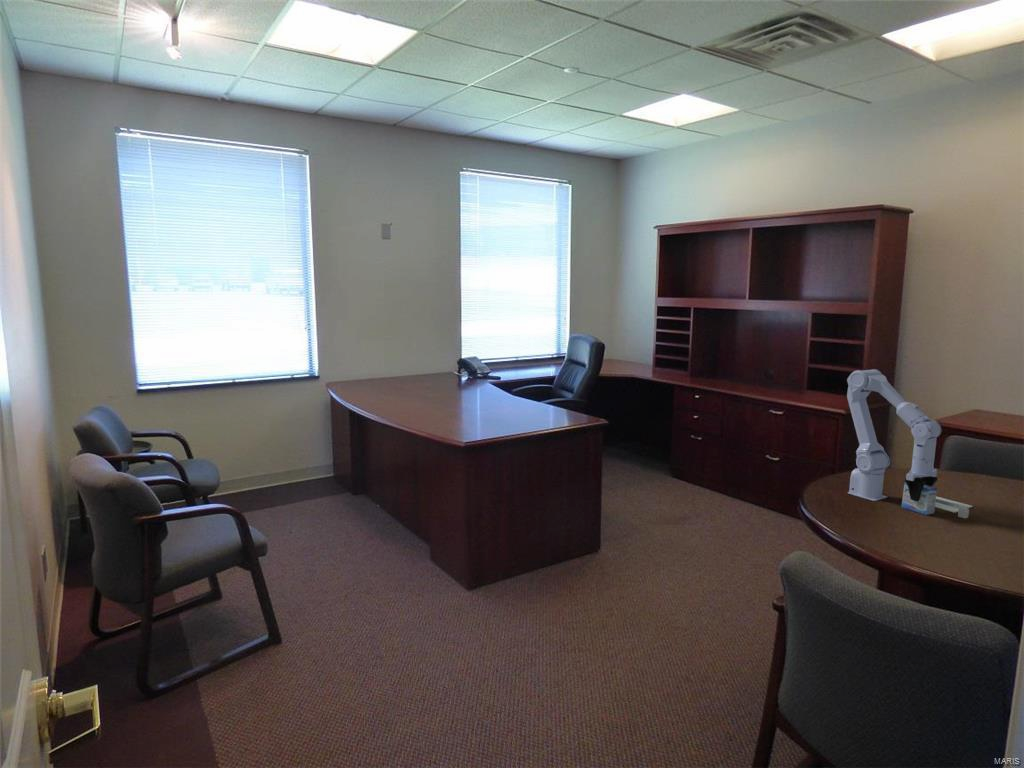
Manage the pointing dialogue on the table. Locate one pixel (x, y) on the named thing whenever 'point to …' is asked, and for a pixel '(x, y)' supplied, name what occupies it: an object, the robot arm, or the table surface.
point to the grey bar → (952, 504)
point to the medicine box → (920, 500)
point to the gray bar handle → (963, 513)
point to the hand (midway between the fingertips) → (918, 499)
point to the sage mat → (949, 508)
